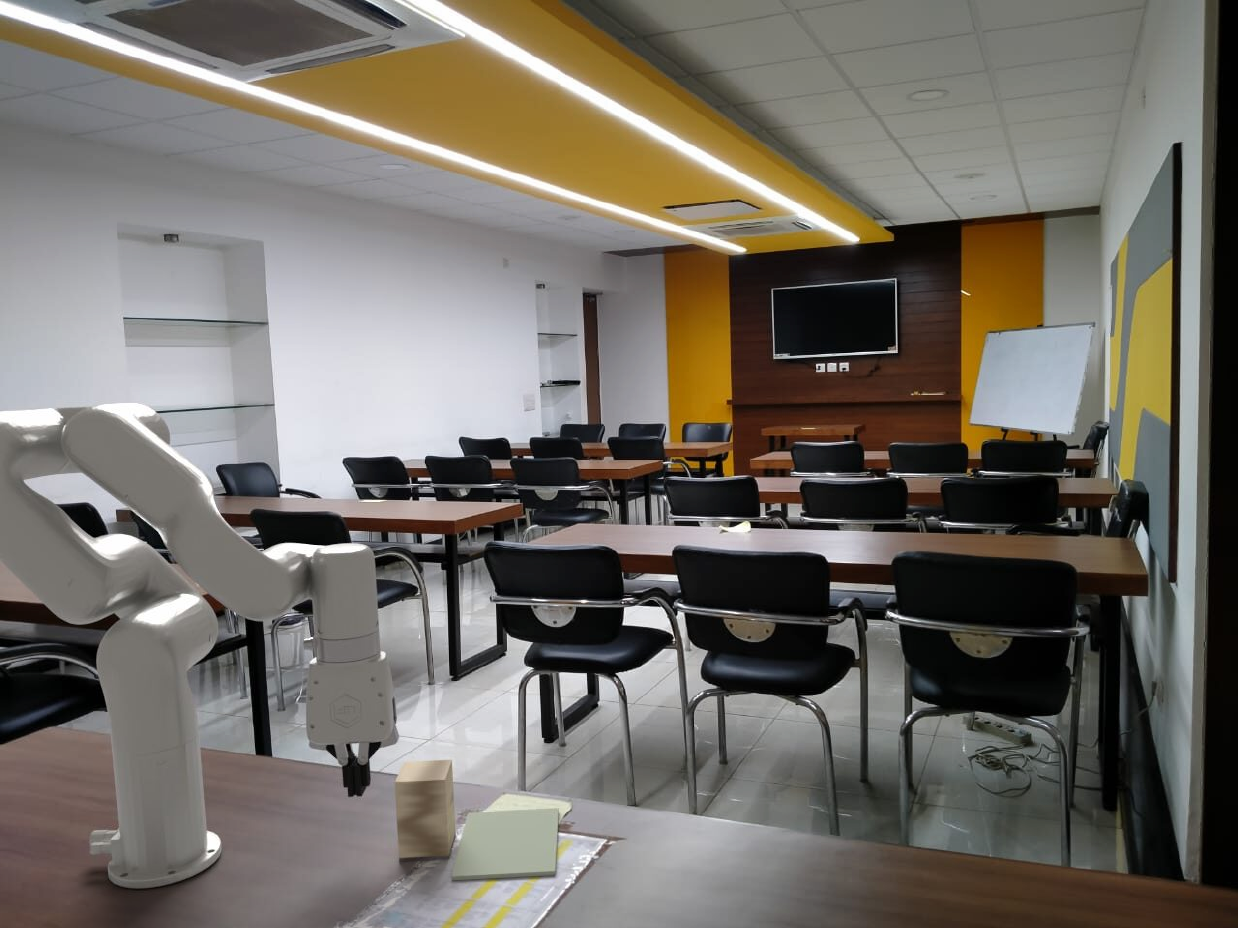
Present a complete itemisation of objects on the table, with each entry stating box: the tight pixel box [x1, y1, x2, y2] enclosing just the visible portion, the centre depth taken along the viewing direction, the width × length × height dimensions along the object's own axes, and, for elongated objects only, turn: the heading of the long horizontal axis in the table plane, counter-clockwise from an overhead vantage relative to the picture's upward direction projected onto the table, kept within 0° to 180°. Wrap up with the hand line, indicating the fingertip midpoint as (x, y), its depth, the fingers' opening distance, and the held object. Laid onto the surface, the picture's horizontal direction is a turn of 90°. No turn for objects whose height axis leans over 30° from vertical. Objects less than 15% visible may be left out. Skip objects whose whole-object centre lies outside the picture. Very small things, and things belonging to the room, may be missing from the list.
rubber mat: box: [451, 807, 560, 881], centre depth 118 cm, size 12×16×1 cm
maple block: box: [394, 759, 457, 863], centre depth 117 cm, size 6×6×10 cm
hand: (357, 791), depth 116 cm, fingers closed
